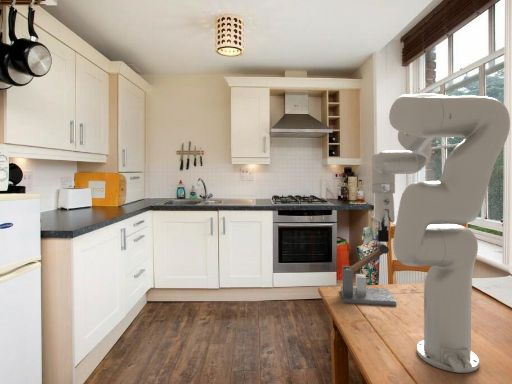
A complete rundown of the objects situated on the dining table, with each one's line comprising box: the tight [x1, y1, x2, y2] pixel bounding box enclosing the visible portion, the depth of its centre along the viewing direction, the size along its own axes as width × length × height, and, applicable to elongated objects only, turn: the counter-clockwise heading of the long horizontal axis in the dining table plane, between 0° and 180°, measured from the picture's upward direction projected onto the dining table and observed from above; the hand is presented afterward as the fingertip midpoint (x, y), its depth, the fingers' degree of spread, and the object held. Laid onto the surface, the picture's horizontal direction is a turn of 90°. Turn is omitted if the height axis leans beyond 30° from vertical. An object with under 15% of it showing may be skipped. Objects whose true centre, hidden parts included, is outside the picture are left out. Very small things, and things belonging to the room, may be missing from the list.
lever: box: [347, 242, 390, 274], centre depth 112 cm, size 6×17×3 cm
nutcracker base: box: [340, 265, 397, 307], centre depth 112 cm, size 12×17×10 cm
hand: (383, 241), depth 110 cm, fingers closed
